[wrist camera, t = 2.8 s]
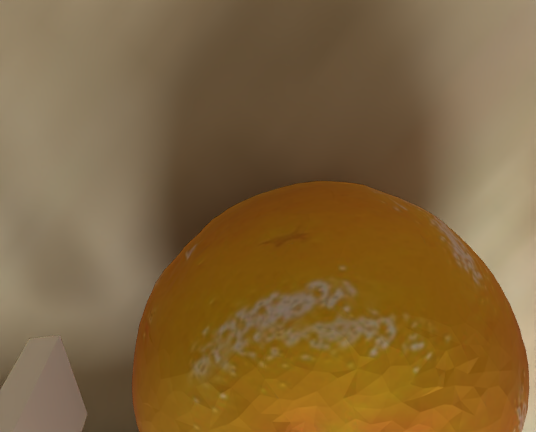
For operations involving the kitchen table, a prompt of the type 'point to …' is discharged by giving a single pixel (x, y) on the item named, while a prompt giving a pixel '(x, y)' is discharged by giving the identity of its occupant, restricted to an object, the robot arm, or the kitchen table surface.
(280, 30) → the kitchen table surface
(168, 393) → the fruit
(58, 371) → the robot arm
